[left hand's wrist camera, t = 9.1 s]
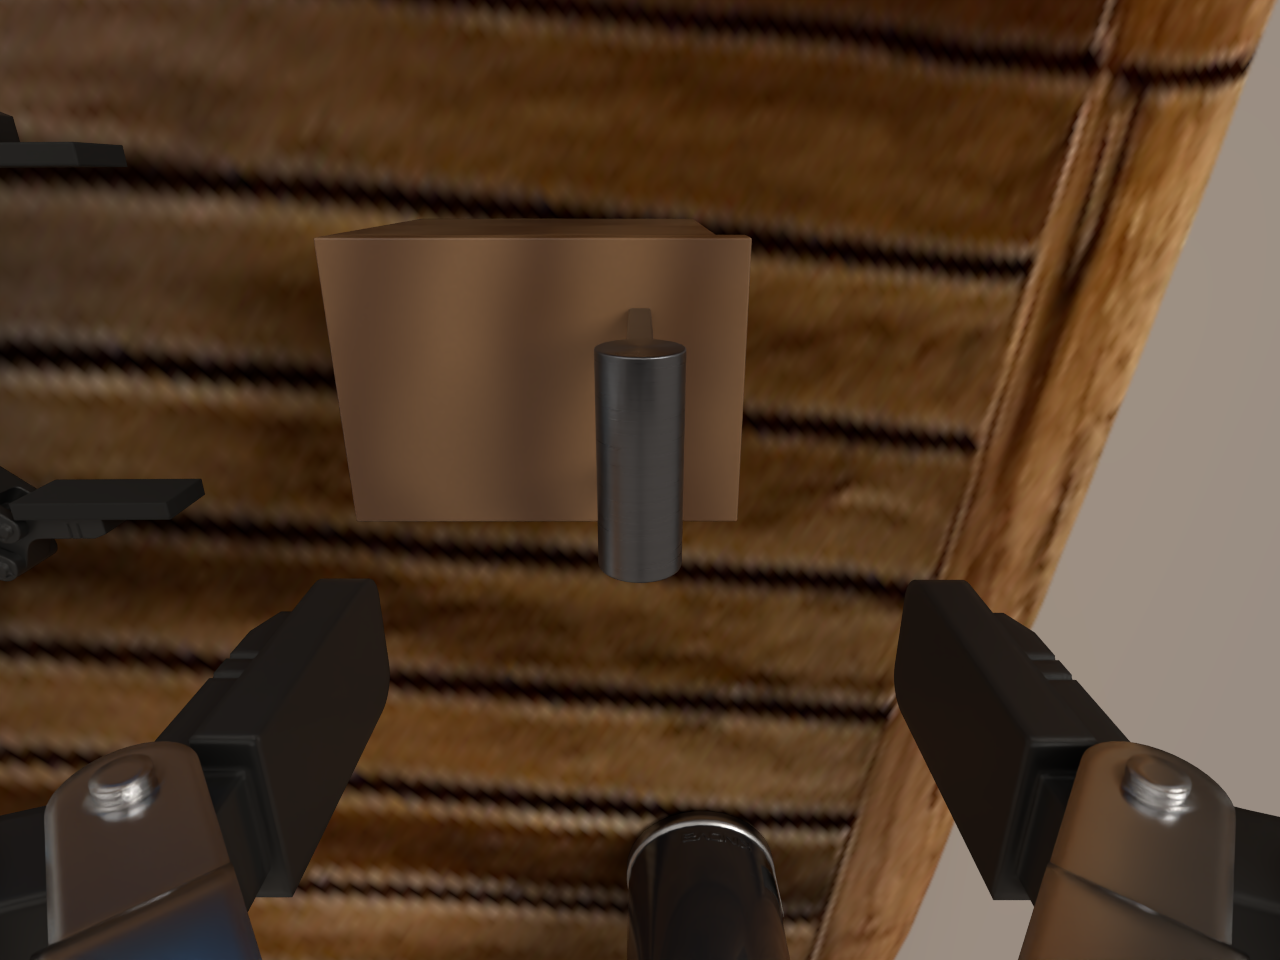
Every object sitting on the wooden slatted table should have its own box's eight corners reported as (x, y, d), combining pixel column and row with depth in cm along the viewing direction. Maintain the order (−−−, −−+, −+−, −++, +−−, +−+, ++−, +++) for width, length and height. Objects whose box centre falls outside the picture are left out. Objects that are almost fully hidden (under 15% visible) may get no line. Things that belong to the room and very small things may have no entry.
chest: (693, 218, 34) (716, 234, 24) (688, 418, 38) (706, 506, 28) (421, 218, 34) (329, 234, 24) (441, 418, 38) (368, 506, 28)
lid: (746, 234, 24) (804, 264, 16) (732, 507, 28) (774, 651, 19) (328, 234, 24) (161, 264, 16) (368, 507, 28) (248, 651, 19)
